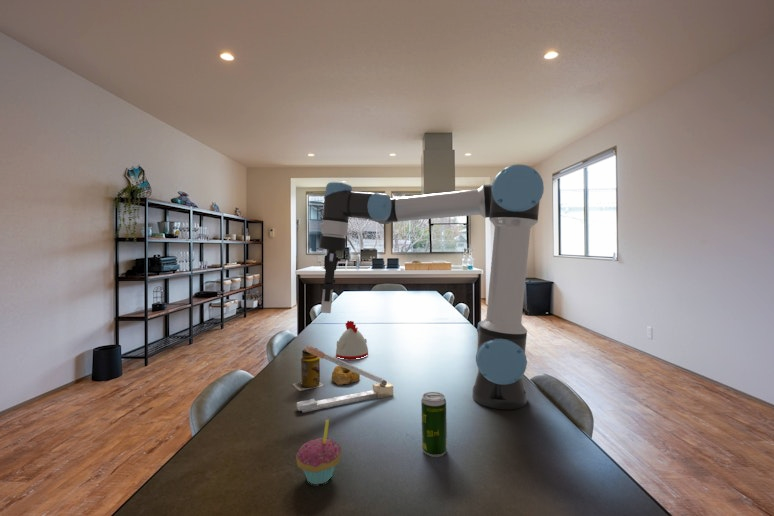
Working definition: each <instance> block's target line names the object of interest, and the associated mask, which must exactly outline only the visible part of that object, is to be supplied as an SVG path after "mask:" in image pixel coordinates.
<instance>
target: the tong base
mask: <svg viewBox="0 0 774 516" xmlns="http://www.w3.org/2000/svg"><path fill="white" fill-rule="evenodd" d="M392 396H394V385H393V384H391V383H390V381H387V385H385V386H384V385H383V384H381V383H378V382H376V383H372V390H371V389H370V390H367V391H366V390H365V391H361V392H355V393H351V394H345V395H341V396H335V397H330V398H325V399H320V400H319V399H318V400H315V398H311V399H306V400H301V401H297V402H296V408H297V410H298V412H300V411H301V412H302V413H308V412H312V411H313V412H314V411H319V410H322V409H323V410H324V409H328V408H332V407H337V406H343V405H348V404H352V403H358V402H362V401H367V400H373V399H383V398H389V397H392Z"/></svg>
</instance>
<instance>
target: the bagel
mask: <svg viewBox="0 0 774 516" xmlns="http://www.w3.org/2000/svg"><path fill="white" fill-rule="evenodd" d="M360 376H361V375H360V374H358V373H356V372H353V371H351V370H349V369H347V368H344V367H342V366H340V365H337V366H335V367H334V369H333V371H332V372H331V381H332V382H333V383H335V384H336V385H337V386H343V384H346V385H350V384H351V383H353V382H355V383H356V382H359V380H361V379H360V378H361V377H360ZM353 384H354V383H353Z"/></svg>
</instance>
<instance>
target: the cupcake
mask: <svg viewBox="0 0 774 516" xmlns="http://www.w3.org/2000/svg"><path fill="white" fill-rule="evenodd" d="M329 418H330V415H329V416H328V417H327V419H325V423H324V430H323V431H324V433H323V437H318V438H313V439H310V440H308V441H307V442H305V443H303V444H302V445H301V446H300V447H299V449H298V450H297V453H296V456H295V457H296V458H295V460H296V465H297V467H298V468H299V469H300V470H303V473H304V475H305V478H306V480H307V481H306V482H308V481H309V482H310V483H314V484H317V483H323V482H326V481H328V480H329V479H330V478H331V477H332V478H333V474H334V470H335V468H336V466H337V465H338V463H339V462H340V461H341V458H342V457H341V456H342V447H341V446H340V444H338V443H337V441H335V440H333V439H331V438H328V433H329V432H328V431H329V425H330V419H329ZM332 478H331V479H332ZM309 482H308V483H309ZM310 483H309V484H310Z"/></svg>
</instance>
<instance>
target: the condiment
mask: <svg viewBox="0 0 774 516" xmlns="http://www.w3.org/2000/svg"><path fill="white" fill-rule="evenodd" d="M314 348H315V349H318V348H317V347H314ZM305 349H306V348H304V349H303V350H302V351H301V354H302V357H301V359H300V363H301V364H300V365H301V367H300V368H301V370H300V371H301V381H300V382H296V383H292V386H293V387H295V389H296V390H298V392H302V391H305V390H310V389H315V388H320V387H323V386H325V384H323V383H322V382H321V375H320V374H321V372H320V371H321V370H320V361H321V360H320V359H321V358H320V357H317V356H315V355H313V354H311V353H308V352H307V351H306V350H305ZM319 382H320V383H319ZM301 383H302V384H301ZM320 384H321V385H320ZM319 385H320V386H319Z"/></svg>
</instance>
